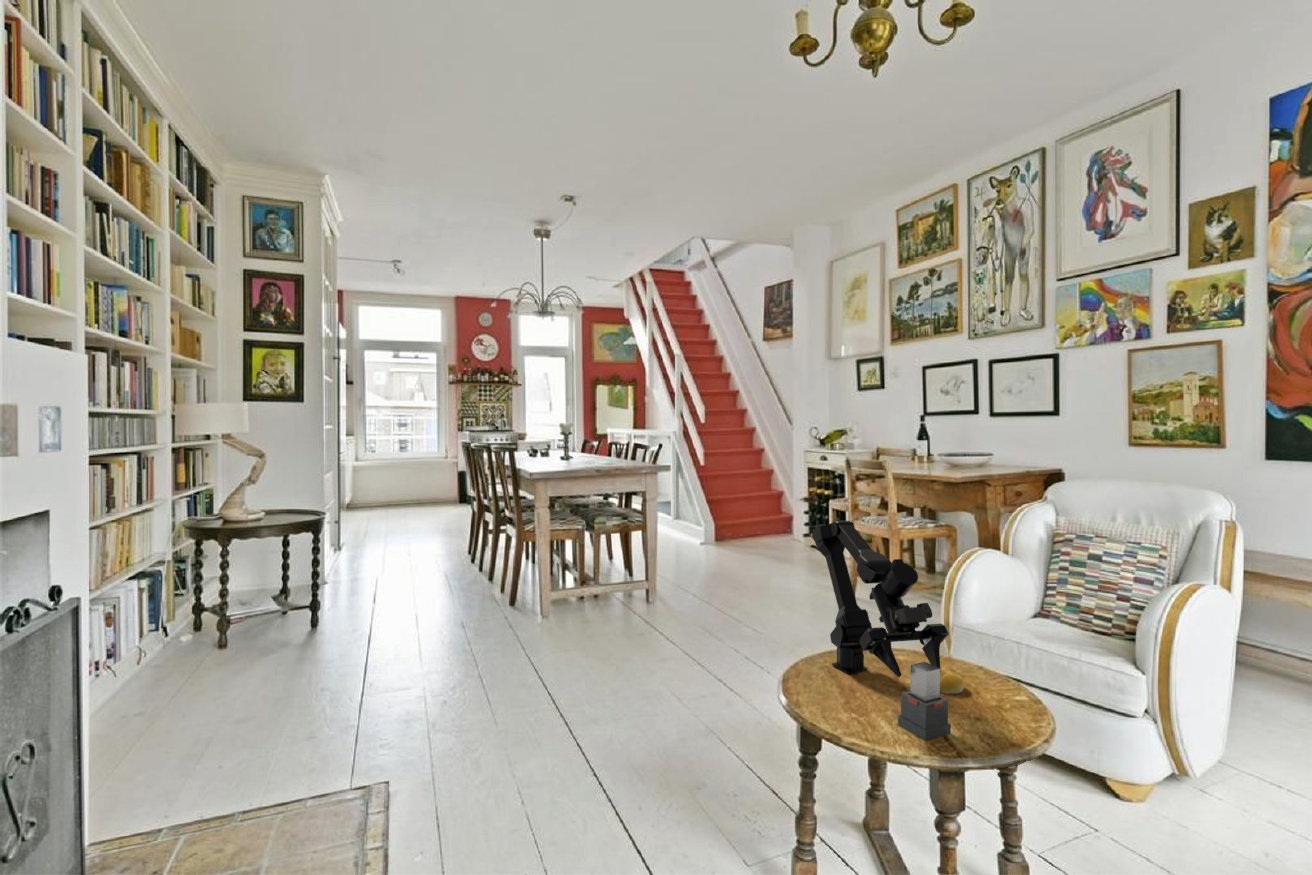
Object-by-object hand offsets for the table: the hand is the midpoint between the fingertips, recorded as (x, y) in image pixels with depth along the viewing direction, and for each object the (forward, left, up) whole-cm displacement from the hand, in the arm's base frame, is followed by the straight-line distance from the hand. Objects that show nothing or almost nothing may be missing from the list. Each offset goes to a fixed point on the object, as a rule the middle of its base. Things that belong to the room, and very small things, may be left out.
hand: (919, 674), depth 134 cm
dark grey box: (+2, 0, -11) cm, 11 cm away
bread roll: (-11, +20, -11) cm, 26 cm away
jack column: (+2, 0, -8) cm, 9 cm away
